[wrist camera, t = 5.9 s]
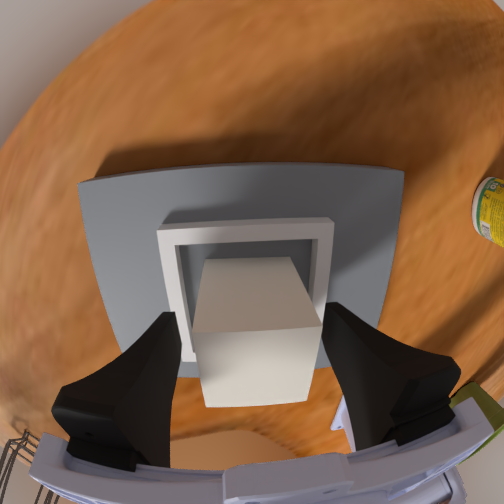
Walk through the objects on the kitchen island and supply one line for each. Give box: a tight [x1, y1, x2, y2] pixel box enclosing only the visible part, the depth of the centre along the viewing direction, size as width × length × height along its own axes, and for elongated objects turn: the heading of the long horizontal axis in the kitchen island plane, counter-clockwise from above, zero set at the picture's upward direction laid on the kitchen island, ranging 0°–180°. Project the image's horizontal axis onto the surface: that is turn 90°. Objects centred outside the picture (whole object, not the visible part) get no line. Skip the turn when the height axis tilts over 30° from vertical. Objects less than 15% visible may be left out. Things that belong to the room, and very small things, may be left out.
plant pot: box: [449, 382, 504, 465], centre depth 24 cm, size 12×12×11 cm
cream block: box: [192, 257, 323, 407], centre depth 13 cm, size 4×4×6 cm
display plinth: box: [77, 162, 404, 377], centre depth 16 cm, size 18×14×3 cm
